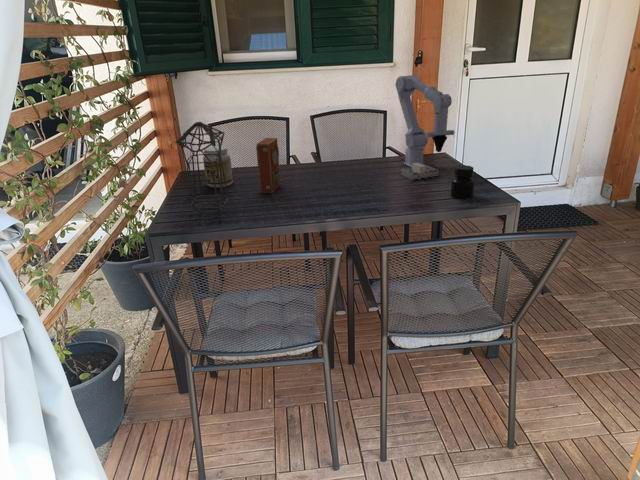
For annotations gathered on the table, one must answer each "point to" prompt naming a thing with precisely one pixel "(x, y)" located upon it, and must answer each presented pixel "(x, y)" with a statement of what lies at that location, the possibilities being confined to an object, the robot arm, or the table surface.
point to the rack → (415, 175)
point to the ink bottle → (463, 182)
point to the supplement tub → (226, 166)
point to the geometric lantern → (205, 127)
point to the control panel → (268, 164)
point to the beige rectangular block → (418, 167)
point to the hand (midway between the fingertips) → (438, 151)
